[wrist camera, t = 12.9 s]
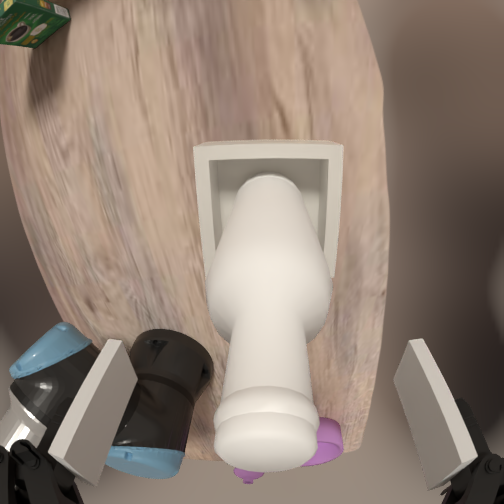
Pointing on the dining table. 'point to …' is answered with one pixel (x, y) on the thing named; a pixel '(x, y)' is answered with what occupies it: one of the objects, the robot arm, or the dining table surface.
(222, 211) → the bottle rest
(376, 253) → the dining table surface
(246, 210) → the bottle
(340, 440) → the container set
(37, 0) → the coffee box
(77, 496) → the robot arm
